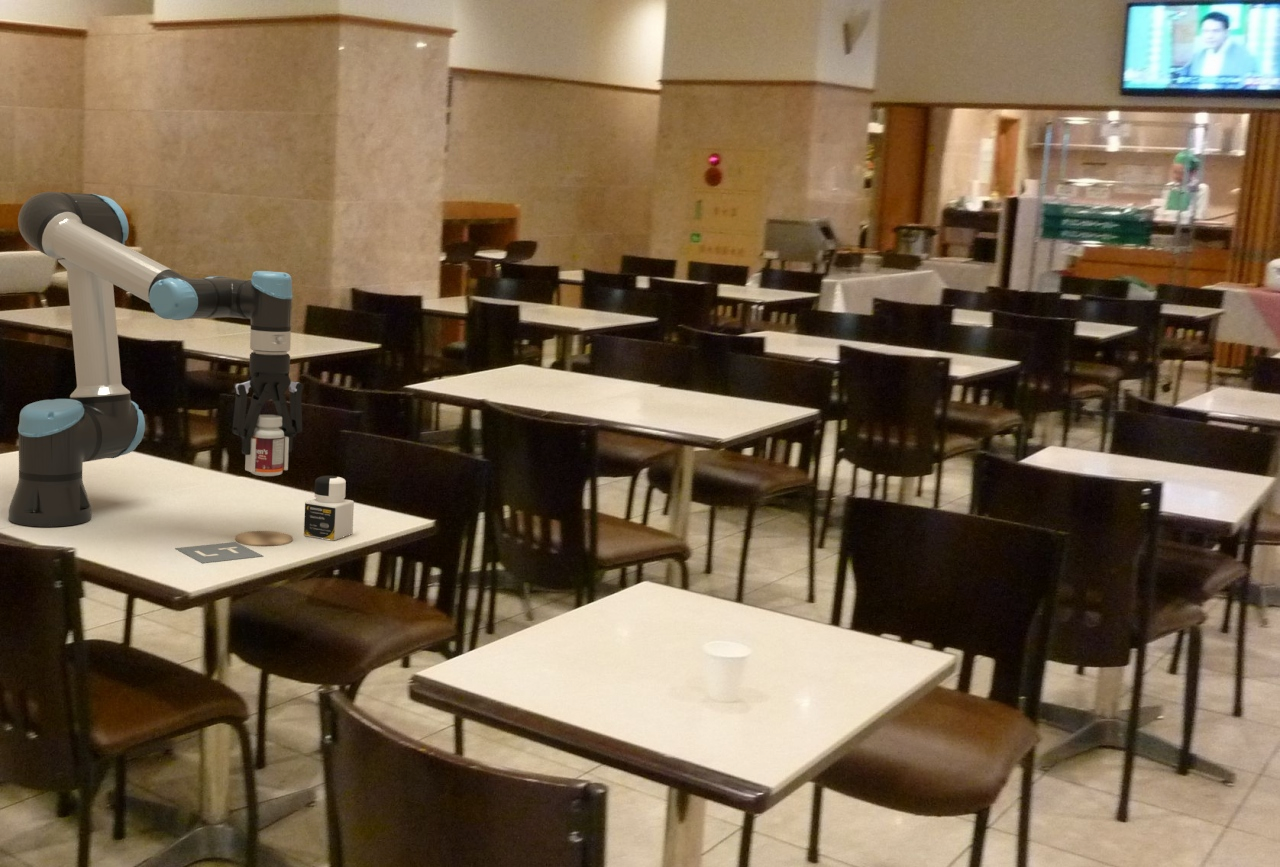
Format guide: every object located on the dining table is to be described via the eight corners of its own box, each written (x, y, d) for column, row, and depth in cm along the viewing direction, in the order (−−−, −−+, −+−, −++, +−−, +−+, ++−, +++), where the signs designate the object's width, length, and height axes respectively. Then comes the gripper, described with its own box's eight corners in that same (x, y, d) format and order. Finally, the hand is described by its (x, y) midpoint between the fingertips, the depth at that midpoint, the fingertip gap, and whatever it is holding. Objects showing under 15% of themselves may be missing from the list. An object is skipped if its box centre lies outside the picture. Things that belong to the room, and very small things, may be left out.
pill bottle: (243, 473, 266) (245, 416, 265) (263, 469, 272) (265, 412, 270) (270, 477, 264) (271, 419, 263) (289, 473, 270) (291, 416, 268)
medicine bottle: (303, 536, 275) (305, 477, 273) (322, 529, 282) (325, 472, 280) (333, 541, 273) (336, 482, 271) (353, 534, 280) (355, 476, 278)
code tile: (202, 564, 250) (202, 562, 249) (174, 549, 258) (175, 547, 258) (263, 557, 257) (263, 555, 257) (235, 543, 266) (235, 541, 266)
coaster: (250, 548, 263) (250, 546, 263) (225, 536, 271) (225, 534, 271) (302, 542, 270) (302, 540, 270) (276, 530, 278) (276, 528, 278)
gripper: (231, 354, 256) (228, 476, 259) (324, 354, 268) (320, 470, 272) (214, 350, 261) (211, 469, 265) (305, 349, 274) (302, 463, 277)
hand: (266, 469), depth 268 cm, fingers closed on pill bottle, 6 cm apart
